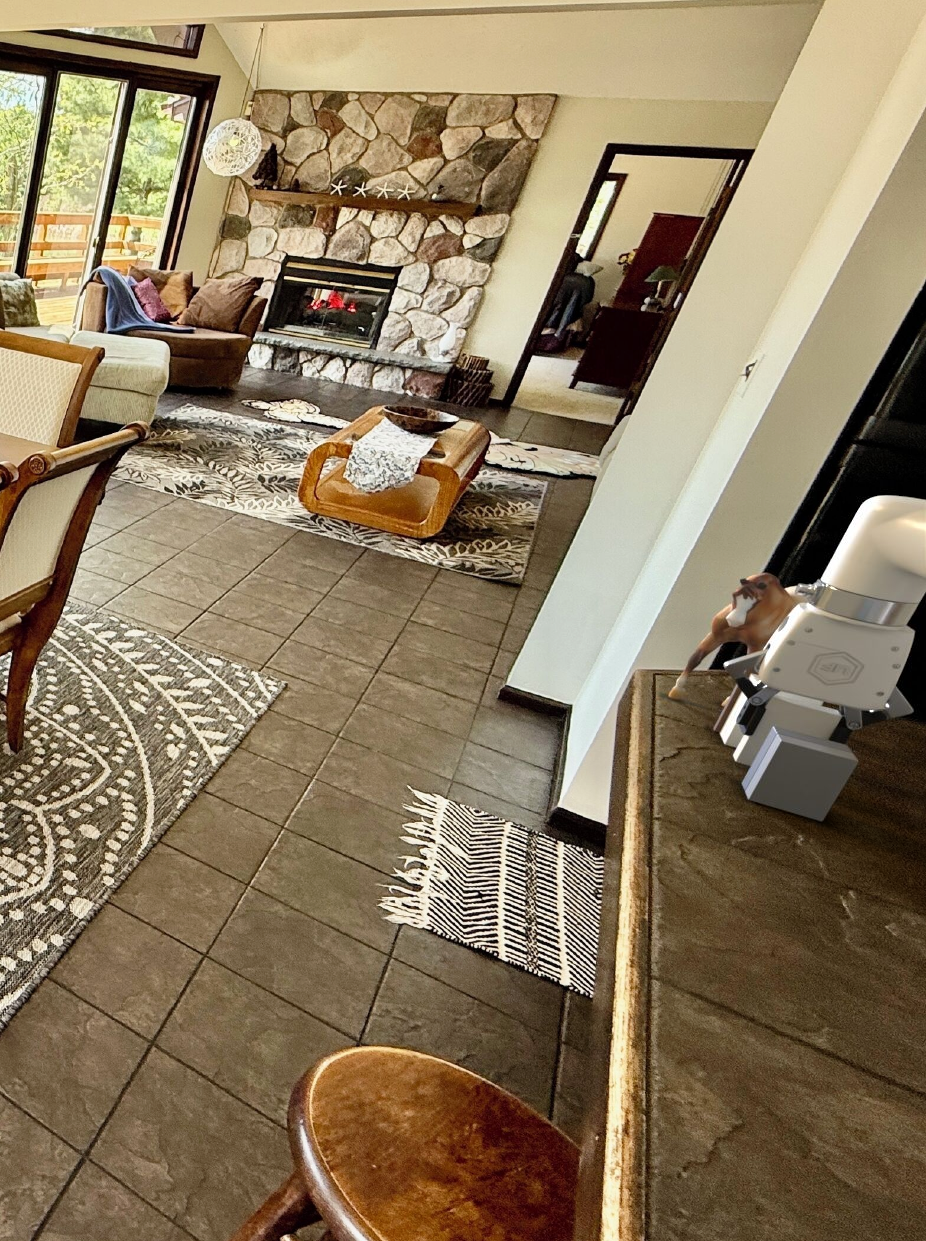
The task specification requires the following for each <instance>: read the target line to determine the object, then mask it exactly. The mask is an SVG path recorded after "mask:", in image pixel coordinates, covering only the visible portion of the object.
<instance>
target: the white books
mask: <svg viewBox="0 0 926 1241" xmlns="http://www.w3.org/2000/svg"><path fill="white" fill-rule="evenodd" d="M744 673H745V674H746V675H747V677H748V678H749V679H750V680H751V682H752V683H753V684H755V683H757V682H758V681H760V679H759V676H758V675H759V674H758V673H757V672H756V671H755V667H753V668H750V669H747V670H745V672H744ZM776 695H778V696H782V697H786V698H790V699H794V700H798V701H802V702H806V703H810V704H815V705H819V706H823V705H824V702H823V701H819V700H815V699H811V698H807V697H803V696H799V695H795V694H791V693H787V692H783V691H780V692H779V693H777V694H776ZM728 697H729V696H728ZM746 700H747V697H746V696H745V695H744V693H743V692H742V691H741V689H740V688H739V687H738V685H737V684H736V683H735V686H734V688H733V690H732V692H731V694H730V697H729V699H728V701H727V703H726V705H725V707H723V709H722V711H721V713H720V715H719V717H718V719H717V720H716V722H715V724H714V726H713V731H714V732H715V733H718V734H719V735H720V738H721V740H722V742H723V744H724V745H726V746H728V747H732V748H736V749H737V747H738V745H739V743H740V741H741V739H742V738H743V736H744V735H743V733H742V731H741V729H740V727H739V725H740V724H737V723H736V719H737V716H738V714H739V713H740V711H741V709H742V707H743V705H744V703H745V701H746Z"/></svg>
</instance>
